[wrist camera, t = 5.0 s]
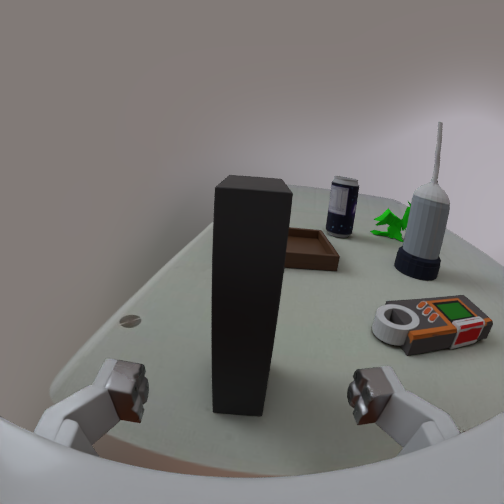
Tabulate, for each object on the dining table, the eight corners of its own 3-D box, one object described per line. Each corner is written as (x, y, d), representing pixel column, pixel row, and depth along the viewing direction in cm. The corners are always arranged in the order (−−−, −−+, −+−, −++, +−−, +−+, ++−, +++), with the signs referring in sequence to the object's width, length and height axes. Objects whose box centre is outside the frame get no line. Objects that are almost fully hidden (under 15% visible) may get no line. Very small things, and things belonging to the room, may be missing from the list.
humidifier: (438, 269, 43) (462, 131, 34) (435, 285, 37) (464, 122, 28) (398, 257, 48) (419, 122, 39) (389, 270, 42) (413, 112, 33)
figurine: (420, 244, 55) (422, 203, 53) (370, 243, 60) (370, 202, 57) (416, 237, 61) (416, 199, 58) (369, 236, 65) (369, 198, 63)
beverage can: (353, 240, 55) (362, 181, 51) (326, 236, 56) (334, 177, 52) (348, 232, 61) (356, 178, 56) (324, 229, 61) (331, 175, 57)
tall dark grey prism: (212, 412, 16) (214, 186, 12) (221, 356, 22) (229, 174, 17) (261, 416, 16) (293, 192, 12) (261, 359, 22) (282, 178, 17)
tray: (216, 262, 40) (217, 246, 39) (226, 234, 52) (227, 222, 52) (337, 271, 40) (340, 256, 39) (319, 242, 52) (321, 230, 52)
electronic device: (367, 299, 27) (466, 292, 28) (361, 322, 28) (459, 312, 29) (394, 338, 21) (497, 319, 22) (384, 363, 22) (487, 341, 23)
